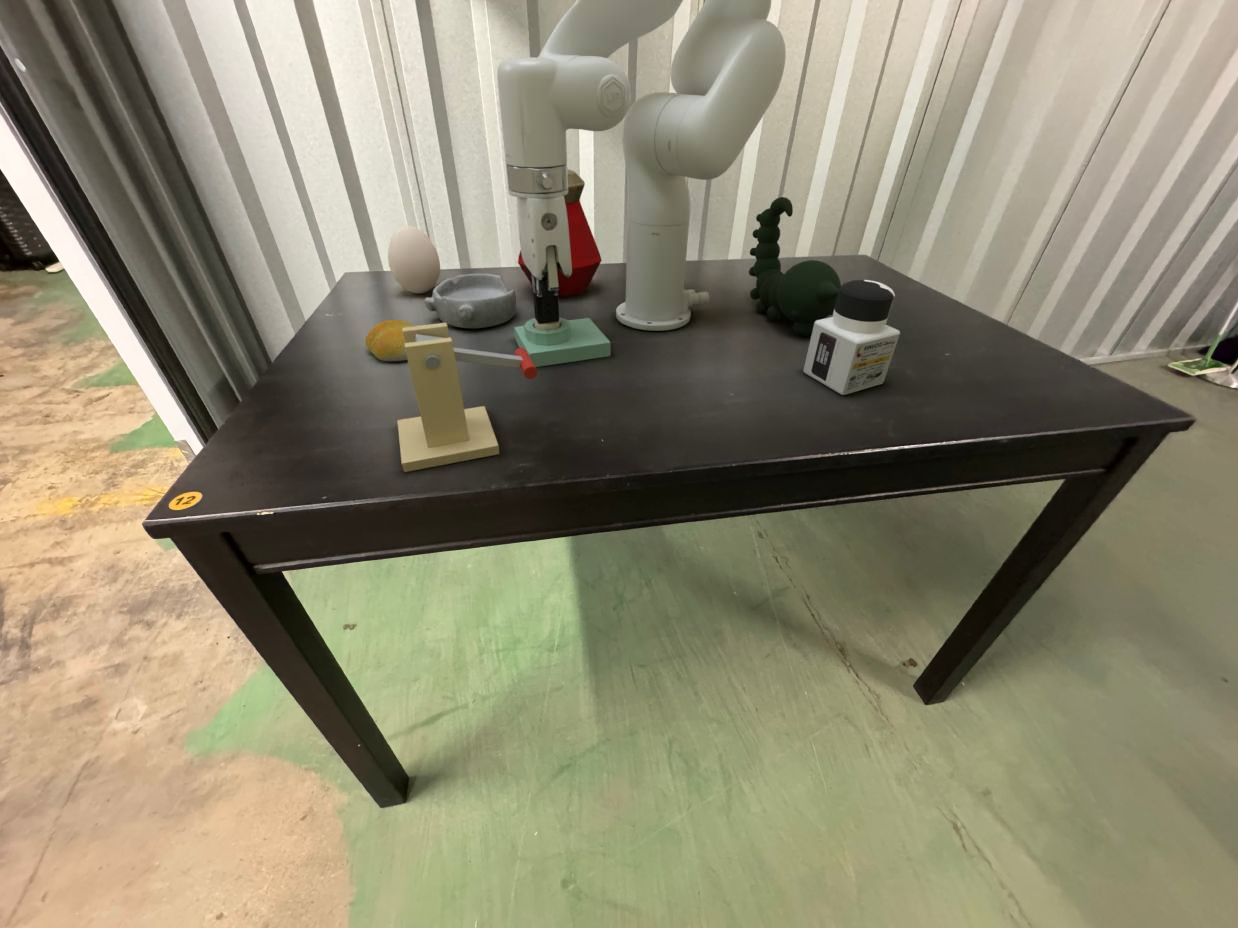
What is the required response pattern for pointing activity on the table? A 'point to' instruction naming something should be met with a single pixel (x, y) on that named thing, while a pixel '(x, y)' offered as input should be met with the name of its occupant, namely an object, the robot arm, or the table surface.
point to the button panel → (562, 342)
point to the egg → (413, 260)
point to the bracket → (440, 407)
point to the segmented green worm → (790, 277)
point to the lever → (492, 357)
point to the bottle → (575, 244)
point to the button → (547, 325)
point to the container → (854, 339)
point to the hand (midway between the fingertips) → (547, 320)
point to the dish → (473, 301)
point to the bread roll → (388, 340)
